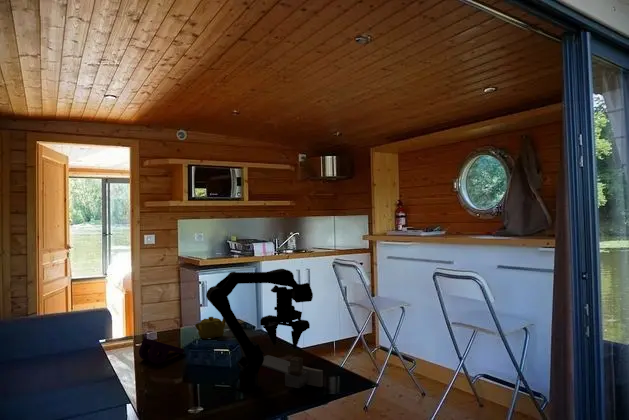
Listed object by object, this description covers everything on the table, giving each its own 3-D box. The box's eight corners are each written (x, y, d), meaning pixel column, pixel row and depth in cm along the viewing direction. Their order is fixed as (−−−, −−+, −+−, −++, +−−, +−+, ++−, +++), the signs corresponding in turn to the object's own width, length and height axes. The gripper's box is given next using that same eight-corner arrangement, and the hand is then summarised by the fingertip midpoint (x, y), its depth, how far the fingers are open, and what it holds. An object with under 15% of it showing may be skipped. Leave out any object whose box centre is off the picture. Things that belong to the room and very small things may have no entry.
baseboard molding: (273, 357, 196) (251, 364, 187) (272, 350, 196) (251, 357, 187) (326, 373, 175) (304, 382, 166) (325, 366, 175) (304, 374, 166)
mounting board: (320, 387, 159) (320, 371, 159) (287, 380, 166) (287, 365, 166) (323, 385, 160) (322, 370, 160) (290, 379, 167) (289, 364, 167)
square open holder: (299, 388, 154) (298, 376, 154) (285, 385, 157) (284, 373, 157) (310, 381, 161) (310, 369, 161) (297, 378, 164) (297, 367, 164)
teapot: (204, 333, 235) (204, 313, 235) (228, 333, 233) (228, 313, 234) (194, 340, 222) (193, 319, 222) (219, 341, 220) (218, 320, 220)
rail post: (298, 383, 156) (297, 360, 156) (290, 382, 158) (290, 359, 158) (302, 380, 159) (302, 357, 159) (295, 379, 160) (294, 356, 161)
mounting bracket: (170, 365, 202) (136, 357, 190) (176, 347, 205) (143, 337, 193) (182, 370, 197) (148, 361, 184) (189, 350, 199) (156, 341, 187)
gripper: (317, 302, 167) (318, 345, 166) (277, 297, 177) (278, 337, 177) (300, 307, 157) (300, 352, 157) (259, 302, 167) (259, 344, 167)
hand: (284, 346), depth 165 cm, fingers open, 9 cm apart
